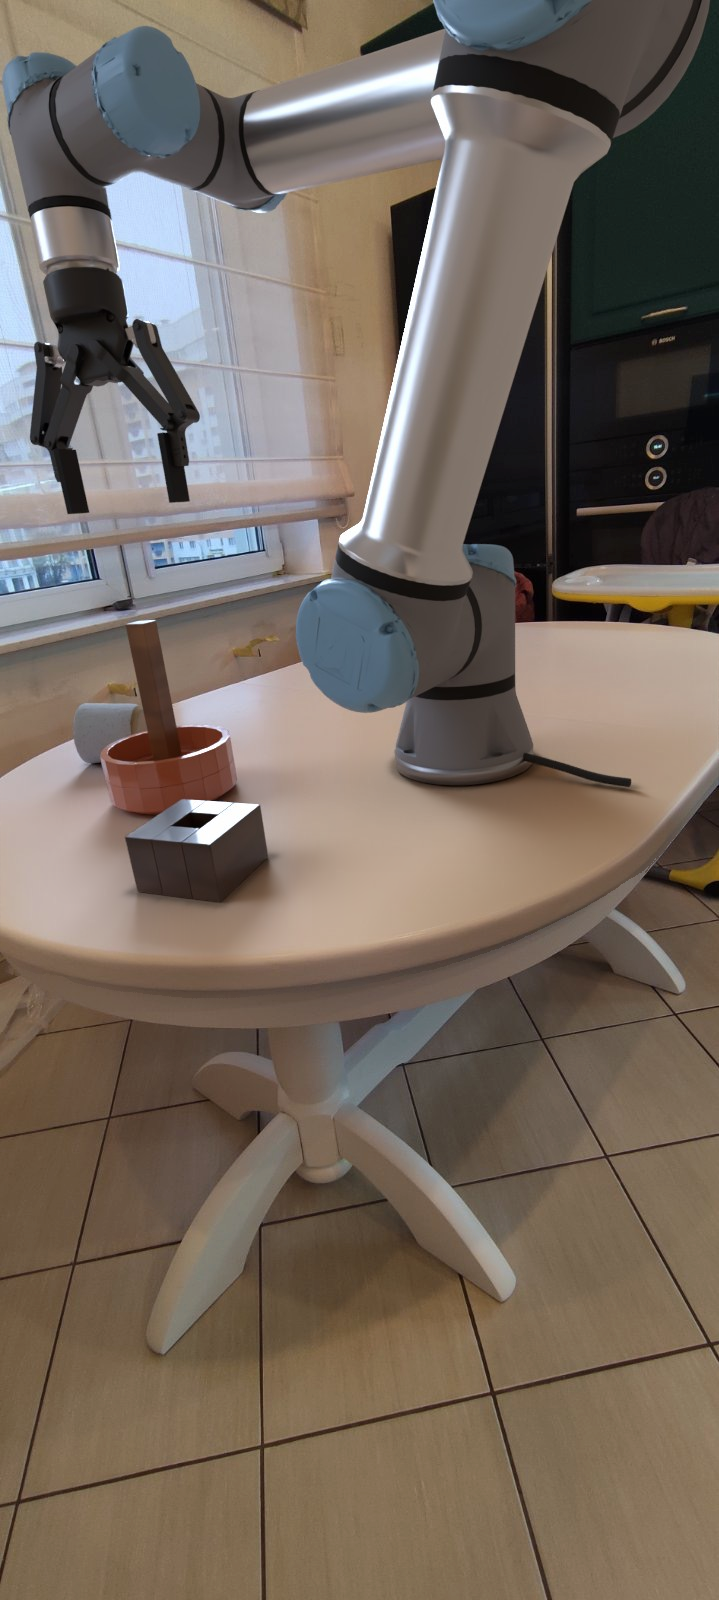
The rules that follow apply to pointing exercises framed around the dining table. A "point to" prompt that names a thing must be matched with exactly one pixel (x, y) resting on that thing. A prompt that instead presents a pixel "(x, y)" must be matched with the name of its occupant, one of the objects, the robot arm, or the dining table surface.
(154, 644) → the stick
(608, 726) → the dining table surface
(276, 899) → the dining table surface
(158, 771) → the bowl
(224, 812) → the holder
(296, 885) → the dining table surface
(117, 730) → the ceramic mug
